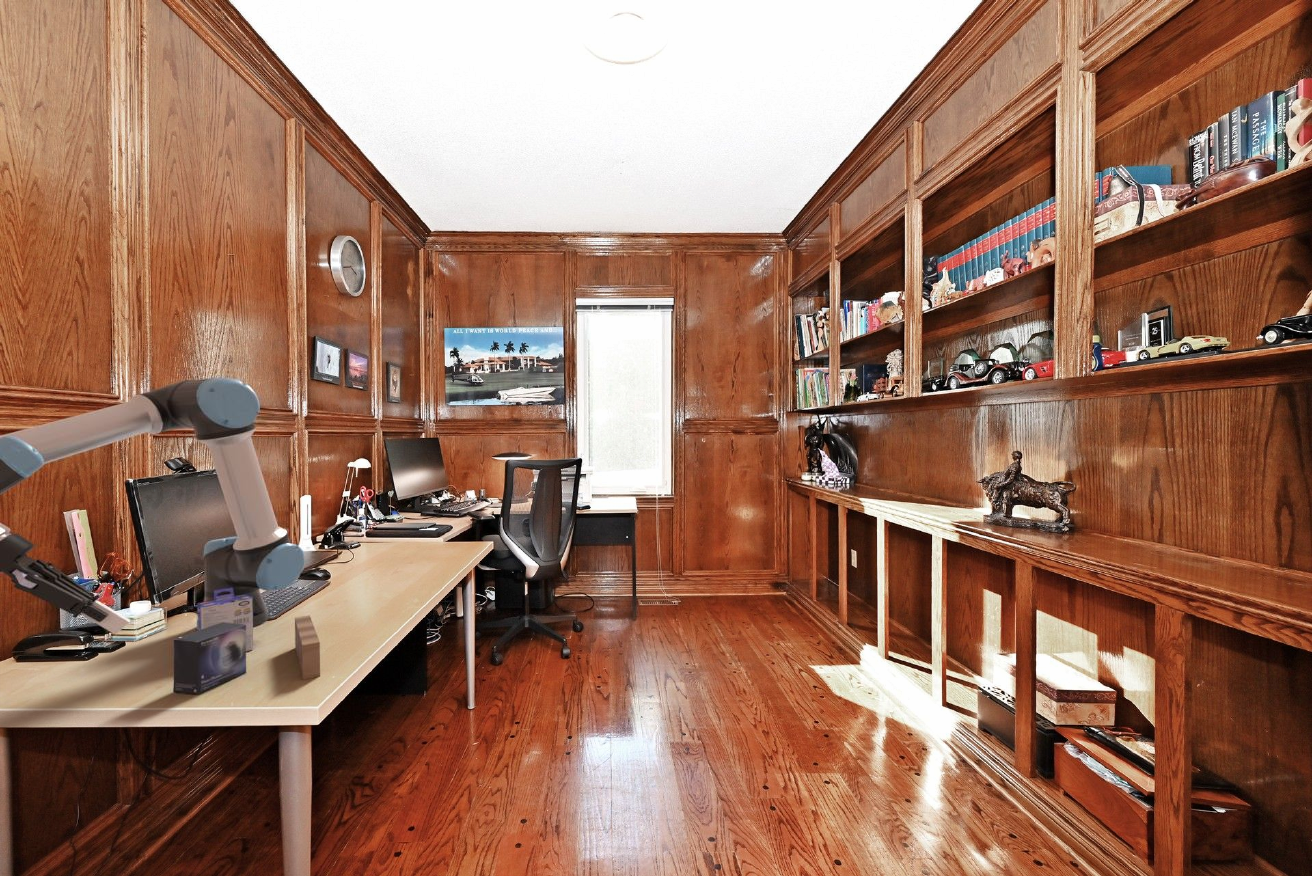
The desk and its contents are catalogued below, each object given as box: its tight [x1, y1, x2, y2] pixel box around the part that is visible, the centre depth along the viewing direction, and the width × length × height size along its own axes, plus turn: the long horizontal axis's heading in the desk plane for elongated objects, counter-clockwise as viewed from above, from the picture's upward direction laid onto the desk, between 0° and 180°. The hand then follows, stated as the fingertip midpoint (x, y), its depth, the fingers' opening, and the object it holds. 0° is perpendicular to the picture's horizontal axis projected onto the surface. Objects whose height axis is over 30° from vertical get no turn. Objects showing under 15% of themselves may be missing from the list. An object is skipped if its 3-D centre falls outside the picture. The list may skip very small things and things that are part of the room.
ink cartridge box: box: [196, 587, 254, 652], centre depth 131 cm, size 10×6×14 cm, turn 137°
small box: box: [172, 622, 247, 695], centre depth 116 cm, size 11×6×10 cm, turn 168°
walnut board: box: [294, 615, 321, 681], centre depth 126 cm, size 22×3×7 cm, turn 36°
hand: (122, 627), depth 107 cm, fingers closed
